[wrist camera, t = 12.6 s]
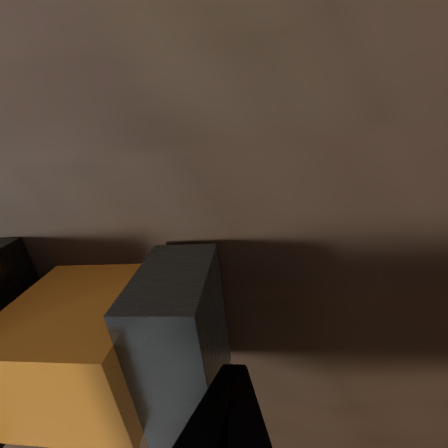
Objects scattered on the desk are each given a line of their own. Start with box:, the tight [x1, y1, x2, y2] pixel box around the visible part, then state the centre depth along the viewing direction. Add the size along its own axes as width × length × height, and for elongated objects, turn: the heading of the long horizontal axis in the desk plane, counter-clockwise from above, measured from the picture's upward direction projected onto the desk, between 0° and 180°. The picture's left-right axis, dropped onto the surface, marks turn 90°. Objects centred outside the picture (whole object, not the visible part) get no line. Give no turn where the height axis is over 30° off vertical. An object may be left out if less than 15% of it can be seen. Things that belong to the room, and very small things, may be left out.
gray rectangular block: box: [103, 243, 231, 448], centre depth 10 cm, size 6×2×4 cm, turn 6°
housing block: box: [0, 264, 144, 448], centre depth 11 cm, size 4×5×5 cm
